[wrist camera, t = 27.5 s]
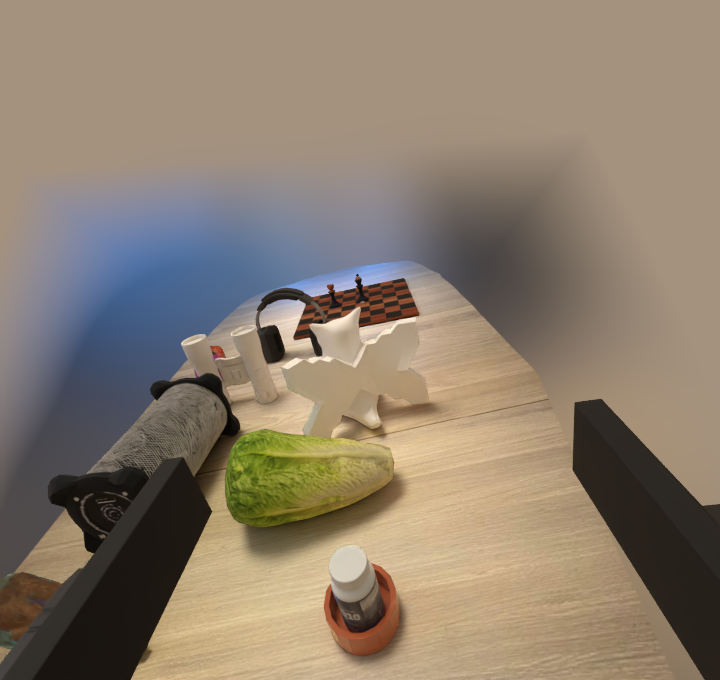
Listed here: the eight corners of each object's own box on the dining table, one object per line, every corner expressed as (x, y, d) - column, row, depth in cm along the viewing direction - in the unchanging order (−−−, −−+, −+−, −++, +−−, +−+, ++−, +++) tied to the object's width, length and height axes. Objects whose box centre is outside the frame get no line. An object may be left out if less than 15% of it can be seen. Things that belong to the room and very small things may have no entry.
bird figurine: (180, 595, 47) (42, 500, 43) (121, 696, 38) (-59, 590, 34) (134, 618, 53) (9, 536, 49) (74, 710, 44) (-84, 620, 40)
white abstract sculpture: (388, 368, 90) (370, 284, 81) (439, 410, 71) (423, 307, 62) (289, 409, 83) (258, 322, 74) (317, 467, 64) (280, 360, 55)
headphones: (261, 364, 107) (237, 299, 99) (270, 353, 113) (248, 291, 105) (334, 357, 102) (315, 287, 93) (339, 346, 107) (322, 279, 99)
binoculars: (281, 390, 91) (258, 323, 84) (276, 402, 86) (251, 332, 79) (216, 401, 93) (187, 336, 86) (207, 414, 88) (176, 347, 81)
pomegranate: (203, 377, 113) (200, 368, 104) (197, 355, 115) (193, 344, 106) (228, 370, 116) (227, 361, 107) (222, 348, 118) (220, 337, 109)
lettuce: (389, 463, 65) (401, 542, 53) (249, 472, 65) (226, 554, 52) (389, 398, 58) (402, 472, 46) (232, 408, 58) (202, 485, 45)
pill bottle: (334, 616, 41) (315, 568, 38) (362, 581, 44) (346, 533, 41) (366, 646, 38) (348, 596, 35) (394, 606, 41) (379, 556, 38)
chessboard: (404, 280, 152) (400, 253, 147) (418, 315, 115) (413, 281, 111) (309, 300, 155) (302, 274, 151) (294, 340, 119) (284, 308, 114)
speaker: (88, 562, 56) (31, 489, 50) (182, 436, 82) (152, 378, 76) (178, 554, 54) (131, 477, 48) (246, 427, 80) (220, 367, 73)
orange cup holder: (410, 592, 42) (406, 575, 41) (382, 670, 36) (376, 653, 35) (351, 569, 46) (346, 553, 45) (317, 636, 40) (310, 620, 39)
